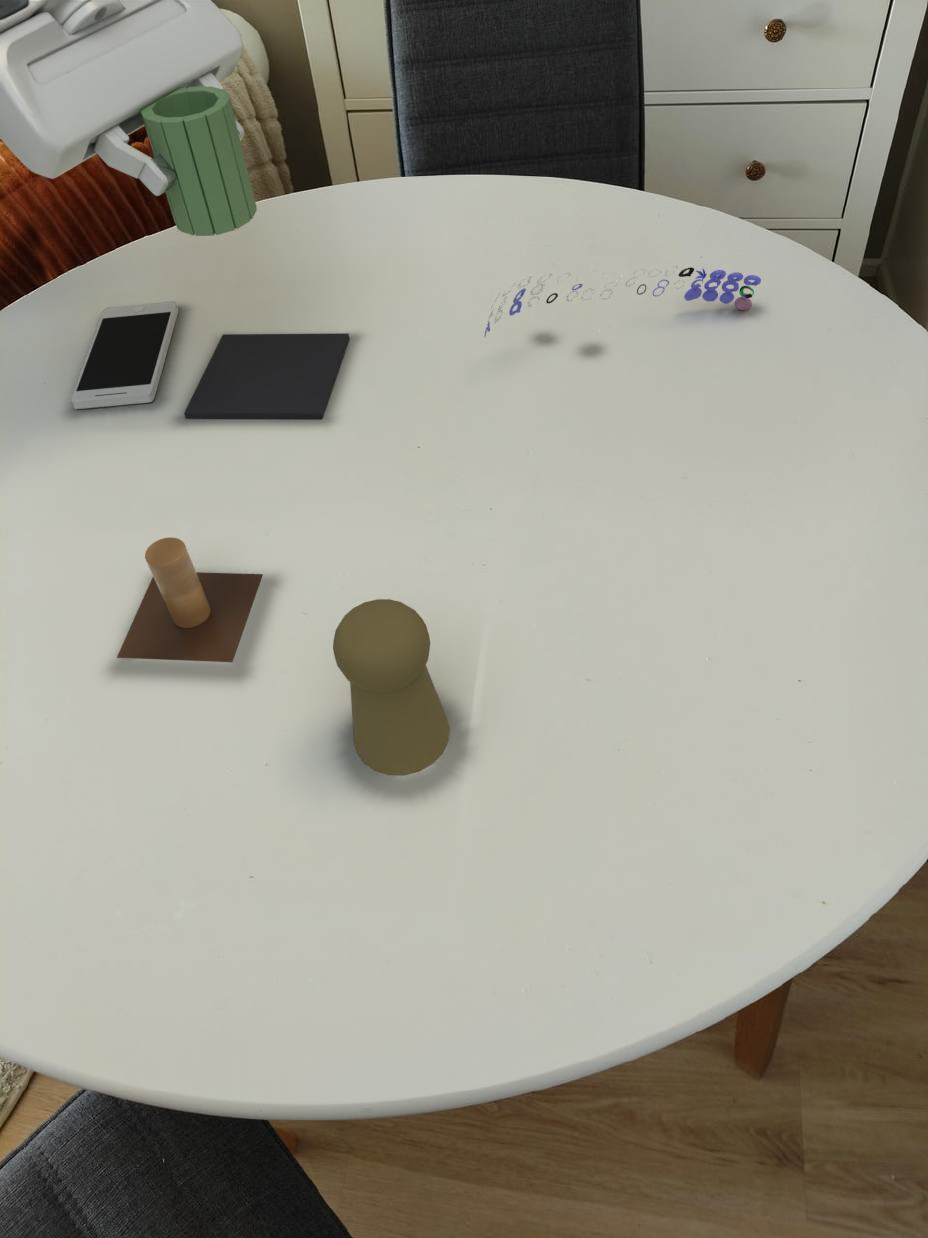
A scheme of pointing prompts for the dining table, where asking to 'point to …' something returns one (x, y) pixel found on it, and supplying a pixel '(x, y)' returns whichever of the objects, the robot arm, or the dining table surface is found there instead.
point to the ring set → (691, 294)
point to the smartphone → (126, 356)
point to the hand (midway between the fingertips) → (202, 164)
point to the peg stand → (189, 609)
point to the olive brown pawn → (391, 687)
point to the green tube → (202, 160)
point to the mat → (269, 376)
